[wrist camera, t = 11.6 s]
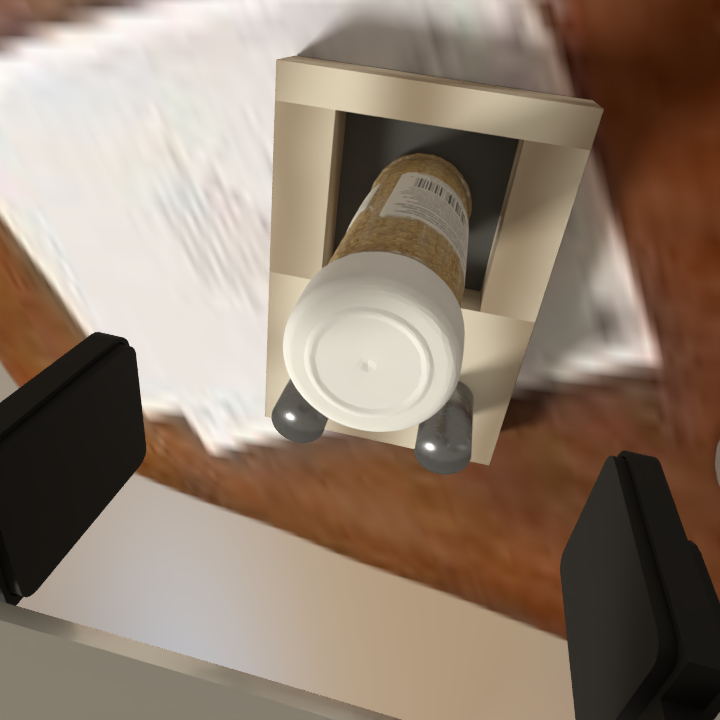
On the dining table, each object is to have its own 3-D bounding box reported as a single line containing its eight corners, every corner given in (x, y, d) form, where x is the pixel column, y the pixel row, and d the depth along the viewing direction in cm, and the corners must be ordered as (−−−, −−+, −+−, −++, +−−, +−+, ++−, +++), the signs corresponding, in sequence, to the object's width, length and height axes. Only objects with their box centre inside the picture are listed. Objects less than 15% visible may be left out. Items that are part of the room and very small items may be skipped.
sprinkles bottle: (351, 188, 25) (241, 335, 14) (439, 128, 23) (392, 243, 12) (406, 270, 27) (347, 461, 16) (493, 221, 25) (497, 399, 14)
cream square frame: (593, 100, 22) (627, 128, 16) (489, 434, 31) (488, 524, 26) (295, 55, 23) (236, 67, 18) (279, 390, 32) (236, 466, 27)
